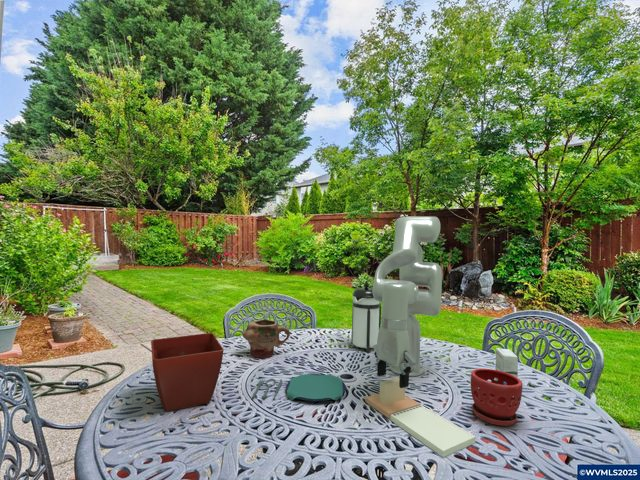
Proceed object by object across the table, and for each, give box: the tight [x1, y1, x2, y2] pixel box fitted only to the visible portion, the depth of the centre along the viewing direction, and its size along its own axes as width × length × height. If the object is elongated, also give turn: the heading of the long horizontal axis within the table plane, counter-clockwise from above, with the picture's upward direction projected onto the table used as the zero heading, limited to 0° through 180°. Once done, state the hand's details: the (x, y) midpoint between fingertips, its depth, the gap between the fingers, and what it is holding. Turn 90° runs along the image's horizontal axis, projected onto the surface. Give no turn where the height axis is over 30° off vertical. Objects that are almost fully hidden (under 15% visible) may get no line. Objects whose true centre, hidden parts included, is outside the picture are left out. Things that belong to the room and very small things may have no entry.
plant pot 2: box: [470, 368, 523, 427], centre depth 97 cm, size 13×13×12 cm
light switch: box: [364, 376, 421, 420], centre depth 102 cm, size 11×12×7 cm
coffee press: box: [348, 282, 382, 354], centre depth 156 cm, size 17×16×30 cm
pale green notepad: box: [389, 404, 477, 458], centre depth 89 cm, size 18×12×2 cm, turn 30°
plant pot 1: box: [150, 332, 225, 413], centre depth 103 cm, size 19×19×17 cm
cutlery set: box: [251, 373, 347, 403], centre depth 111 cm, size 20×30×2 cm, turn 87°
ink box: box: [494, 347, 519, 385], centre depth 118 cm, size 9×5×12 cm, turn 168°
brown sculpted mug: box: [242, 319, 291, 359], centre depth 143 cm, size 20×12×14 cm, turn 98°
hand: (392, 381), depth 101 cm, fingers open, 9 cm apart
